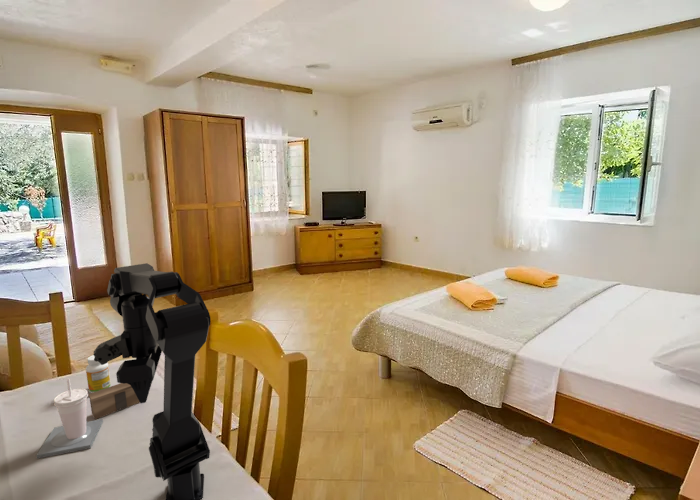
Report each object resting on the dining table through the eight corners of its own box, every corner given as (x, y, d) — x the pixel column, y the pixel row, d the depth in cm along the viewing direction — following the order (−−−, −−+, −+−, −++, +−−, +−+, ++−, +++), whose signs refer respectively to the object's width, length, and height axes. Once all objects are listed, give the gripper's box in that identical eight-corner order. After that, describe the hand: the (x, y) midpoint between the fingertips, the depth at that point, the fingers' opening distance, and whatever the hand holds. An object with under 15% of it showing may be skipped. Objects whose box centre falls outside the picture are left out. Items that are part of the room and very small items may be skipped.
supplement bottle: (90, 386, 114) (86, 354, 112) (112, 382, 116) (108, 351, 114) (87, 395, 109) (82, 362, 107) (110, 391, 111) (105, 358, 109)
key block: (147, 399, 107) (145, 380, 105) (94, 420, 98) (91, 399, 97) (143, 395, 109) (140, 376, 108) (90, 414, 100) (87, 394, 99)
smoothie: (59, 446, 87) (49, 388, 84) (59, 431, 92) (50, 376, 90) (94, 435, 91) (85, 379, 88) (92, 421, 96) (84, 368, 93)
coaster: (90, 448, 88) (90, 444, 88) (37, 458, 85) (36, 454, 85) (103, 422, 97) (102, 418, 97) (55, 430, 94) (54, 426, 94)
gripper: (107, 313, 90) (115, 376, 93) (80, 346, 72) (91, 423, 75) (161, 307, 93) (167, 369, 96) (147, 338, 76) (156, 412, 79)
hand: (146, 391), depth 86 cm, fingers open, 9 cm apart
